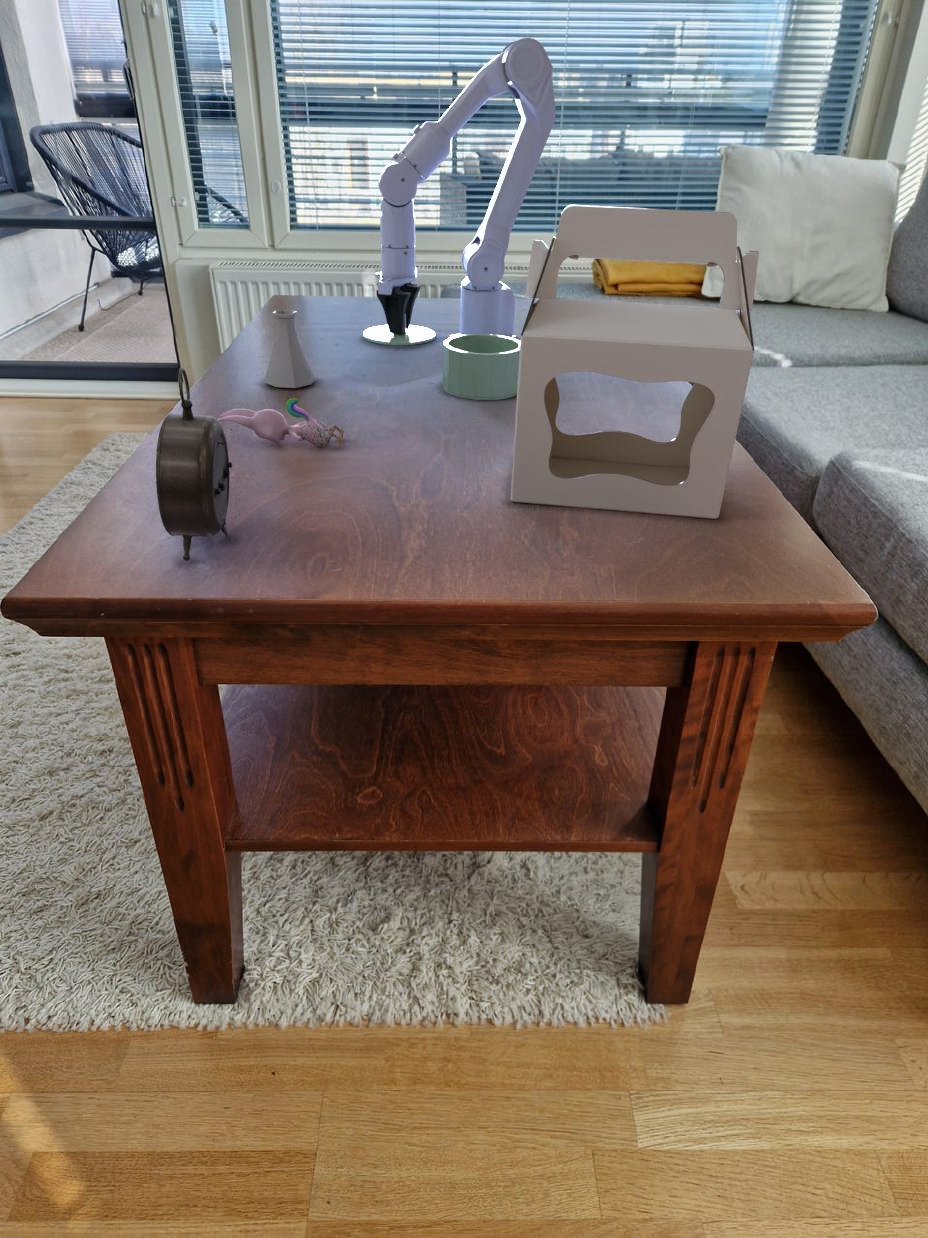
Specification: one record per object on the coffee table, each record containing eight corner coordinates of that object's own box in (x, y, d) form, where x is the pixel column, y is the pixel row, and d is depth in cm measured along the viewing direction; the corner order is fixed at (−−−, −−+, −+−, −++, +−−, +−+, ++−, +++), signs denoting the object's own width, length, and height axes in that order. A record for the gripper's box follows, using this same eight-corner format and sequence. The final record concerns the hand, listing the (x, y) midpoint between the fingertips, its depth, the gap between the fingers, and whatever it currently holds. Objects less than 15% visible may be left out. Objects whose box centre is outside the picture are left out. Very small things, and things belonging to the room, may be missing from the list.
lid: (402, 327, 152) (402, 301, 149) (450, 341, 144) (450, 314, 142) (348, 337, 144) (347, 311, 142) (395, 352, 137) (395, 324, 134)
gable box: (707, 471, 97) (759, 206, 82) (720, 520, 86) (784, 223, 70) (518, 457, 99) (535, 196, 84) (507, 502, 88) (525, 211, 73)
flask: (324, 379, 123) (320, 309, 118) (296, 392, 118) (291, 319, 112) (284, 372, 126) (278, 303, 120) (255, 384, 120) (247, 313, 115)
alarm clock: (189, 515, 83) (162, 351, 74) (244, 514, 83) (223, 351, 75) (165, 568, 74) (132, 388, 65) (227, 566, 74) (201, 388, 66)
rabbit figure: (343, 445, 104) (224, 423, 103) (349, 400, 101) (226, 376, 100) (336, 464, 99) (210, 440, 98) (341, 416, 96) (211, 391, 94)
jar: (481, 372, 129) (482, 329, 125) (537, 389, 122) (540, 345, 119) (426, 386, 122) (426, 341, 118) (482, 405, 115) (484, 359, 112)
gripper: (390, 238, 143) (391, 319, 150) (359, 250, 131) (362, 338, 138) (428, 241, 142) (428, 323, 149) (401, 253, 130) (402, 342, 137)
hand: (399, 330), depth 144 cm, fingers open, 3 cm apart
